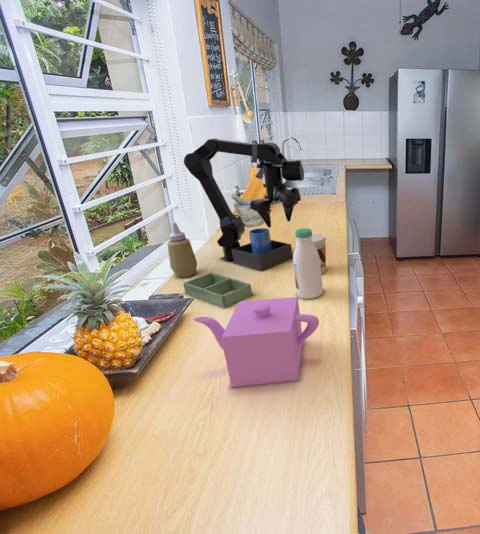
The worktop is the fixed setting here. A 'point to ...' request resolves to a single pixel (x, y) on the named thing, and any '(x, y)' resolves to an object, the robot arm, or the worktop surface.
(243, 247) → the black square tray
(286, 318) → the teapot
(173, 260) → the squeeze bottle
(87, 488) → the worktop surface
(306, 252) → the milk bottle
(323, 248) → the coffee cup
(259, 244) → the blue cup
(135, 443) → the worktop surface
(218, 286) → the divided tray
